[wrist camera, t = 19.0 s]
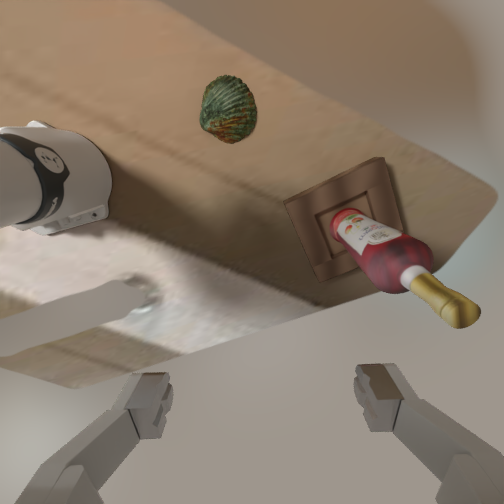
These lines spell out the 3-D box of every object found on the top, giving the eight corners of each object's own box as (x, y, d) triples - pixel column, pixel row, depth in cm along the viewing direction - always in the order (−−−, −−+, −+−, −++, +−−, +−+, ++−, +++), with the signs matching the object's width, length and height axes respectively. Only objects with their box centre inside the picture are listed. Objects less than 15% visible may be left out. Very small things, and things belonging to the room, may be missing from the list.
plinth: (315, 275, 52) (319, 283, 49) (283, 201, 46) (285, 204, 43) (397, 241, 49) (407, 247, 46) (374, 157, 43) (384, 157, 40)
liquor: (331, 247, 48) (424, 358, 22) (321, 214, 45) (412, 295, 19) (368, 233, 47) (511, 334, 21) (360, 199, 44) (511, 264, 18)
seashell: (265, 126, 38) (208, 150, 39) (265, 130, 42) (213, 152, 43) (242, 55, 35) (181, 84, 37) (244, 67, 39) (189, 93, 40)
